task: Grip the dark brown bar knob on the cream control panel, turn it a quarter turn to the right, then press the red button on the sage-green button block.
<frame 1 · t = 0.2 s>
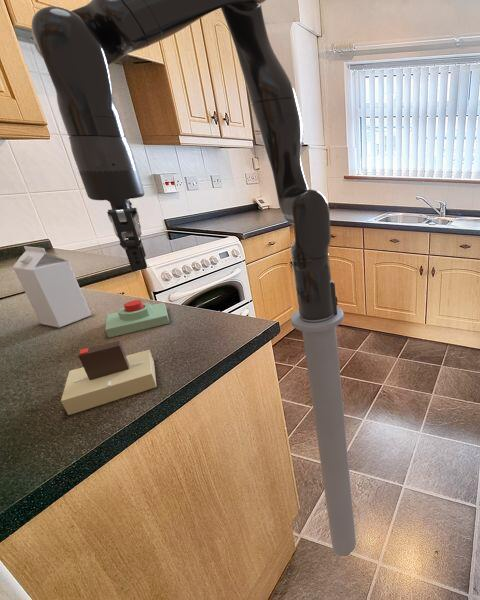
hand: (139, 263, 61), 21 cm above the table, tool pointing down, fingers open, 8 cm apart
button block: (139, 322, 84), on the table
button: (133, 306, 82), point 4 cm above the table, slide at 0.1 cm
milk carton: (67, 320, 86), on the table
brown rectangular block: (104, 359, 59), point 6 cm above the table, hinge at 0.0°
panel: (115, 385, 61), on the table
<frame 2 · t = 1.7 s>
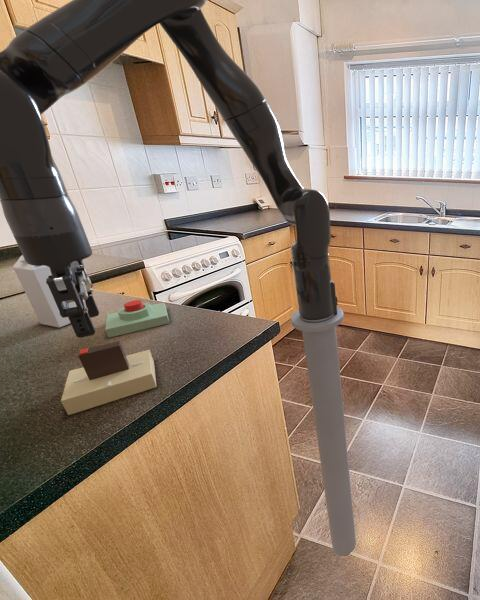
hand: (89, 325, 56), 12 cm above the table, tool pointing down, fingers open, 8 cm apart
nothing on the table moved.
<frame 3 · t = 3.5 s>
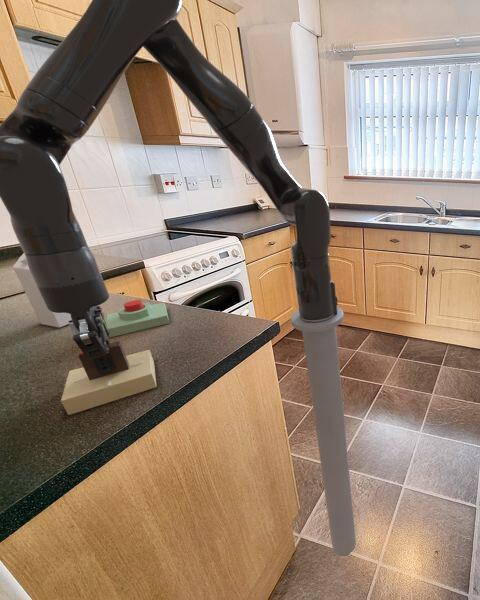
hand: (108, 368, 60), 4 cm above the table, tool pointing down, fingers closed on brown rectangular block, 2 cm apart
brown rectangular block: (104, 359, 59), point 6 cm above the table, hinge at 0.0°, touching gripper
everything else where it was.
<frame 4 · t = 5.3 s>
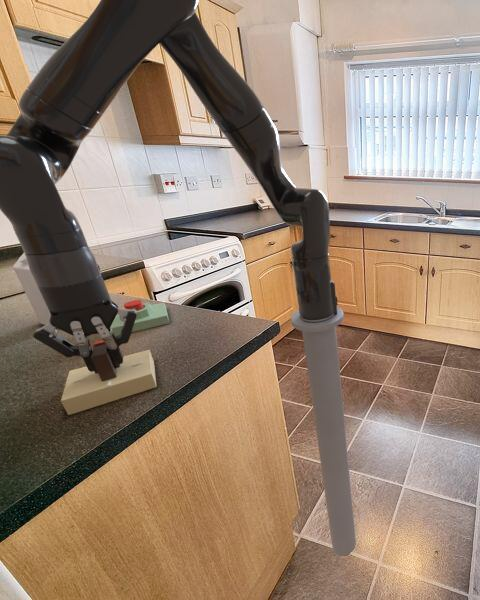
hand: (108, 368, 60), 4 cm above the table, tool pointing down, fingers closed on brown rectangular block, 2 cm apart
brown rectangular block: (104, 359, 59), point 6 cm above the table, hinge at -90.0°, touching gripper
everything else where it was.
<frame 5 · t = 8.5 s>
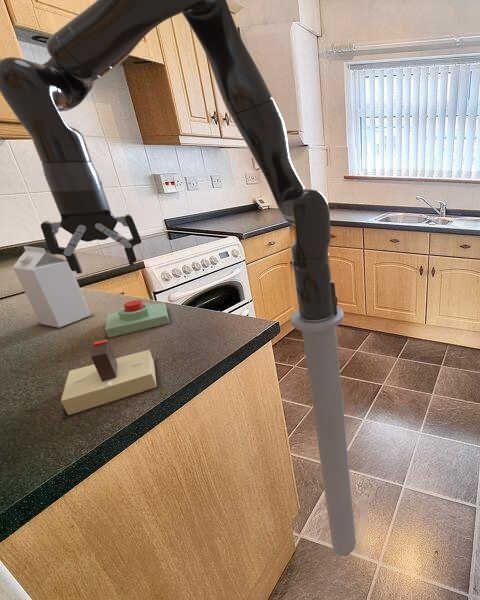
hand: (107, 268, 71), 17 cm above the table, tool pointing down, fingers open, 8 cm apart
brown rectangular block: (104, 359, 59), point 6 cm above the table, hinge at -89.8°
everything else where it was.
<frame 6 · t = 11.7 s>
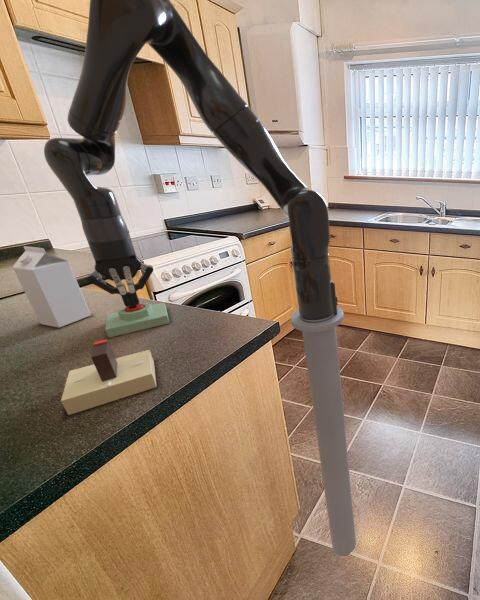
hand: (133, 306, 82), 4 cm above the table, tool pointing down, fingers closed
button: (135, 309, 83), point 4 cm above the table, slide at -0.8 cm, touching gripper
everything else where it was.
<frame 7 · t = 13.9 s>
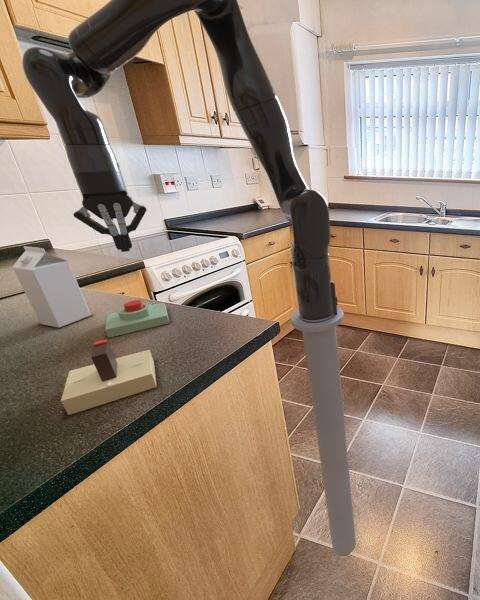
hand: (126, 250, 76), 19 cm above the table, tool pointing down, fingers closed
button: (134, 306, 82), point 4 cm above the table, slide at 0.1 cm
everything else where it was.
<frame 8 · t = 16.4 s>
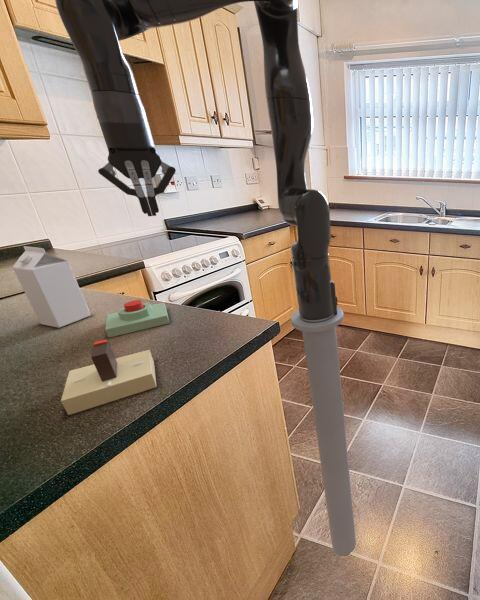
hand: (152, 215, 70), 27 cm above the table, tool pointing down, fingers closed
nothing on the table moved.
at the end: brown rectangular block at -90° (first picture: +0°); button pushed in 1.1 cm at the most during the clip, back to where it started at the end; button slide at 0.1 cm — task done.
